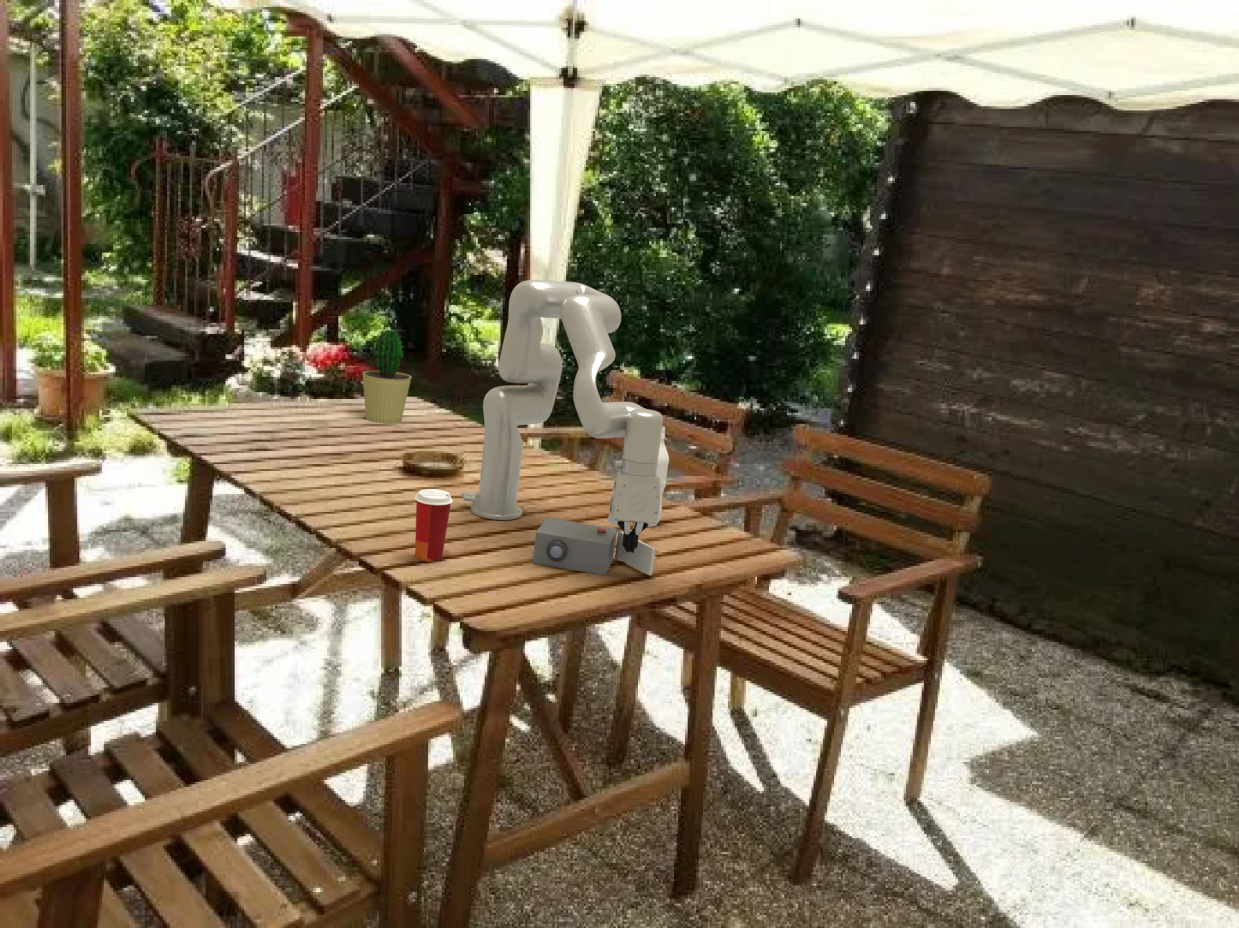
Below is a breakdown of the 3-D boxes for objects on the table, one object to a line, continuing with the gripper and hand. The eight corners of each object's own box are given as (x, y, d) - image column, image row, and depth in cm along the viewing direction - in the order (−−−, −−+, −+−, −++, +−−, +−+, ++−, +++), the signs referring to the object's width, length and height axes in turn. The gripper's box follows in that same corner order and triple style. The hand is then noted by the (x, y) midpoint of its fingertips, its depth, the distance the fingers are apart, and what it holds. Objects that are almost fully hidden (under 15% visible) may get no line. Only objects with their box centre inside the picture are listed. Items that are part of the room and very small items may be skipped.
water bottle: (643, 517, 275) (656, 422, 269) (665, 525, 270) (679, 429, 265) (626, 521, 269) (639, 424, 263) (648, 529, 265) (662, 431, 259)
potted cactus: (417, 422, 349) (425, 331, 342) (384, 426, 336) (391, 332, 330) (383, 412, 357) (390, 323, 350) (349, 416, 344) (355, 324, 337)
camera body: (531, 565, 228) (535, 530, 226) (543, 547, 241) (547, 514, 239) (604, 577, 226) (609, 542, 224) (613, 558, 239) (617, 525, 237)
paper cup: (449, 553, 228) (455, 490, 225) (444, 565, 221) (450, 500, 218) (412, 549, 228) (418, 486, 225) (406, 561, 220) (412, 496, 217)
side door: (648, 576, 230) (652, 548, 228) (613, 557, 239) (617, 530, 238) (655, 575, 231) (659, 547, 229) (620, 556, 240) (624, 529, 239)
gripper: (607, 469, 220) (597, 554, 224) (677, 474, 223) (666, 558, 227) (601, 461, 227) (592, 543, 231) (669, 466, 230) (659, 547, 234)
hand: (629, 550), depth 229 cm, fingers closed
